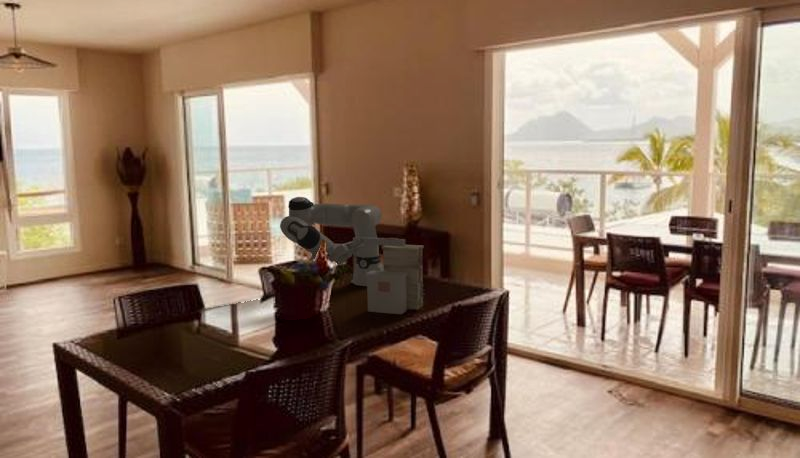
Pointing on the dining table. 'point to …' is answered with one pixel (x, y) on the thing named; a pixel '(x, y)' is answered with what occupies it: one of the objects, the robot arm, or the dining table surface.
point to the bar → (381, 241)
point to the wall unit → (407, 270)
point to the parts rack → (386, 292)
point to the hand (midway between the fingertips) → (362, 239)
